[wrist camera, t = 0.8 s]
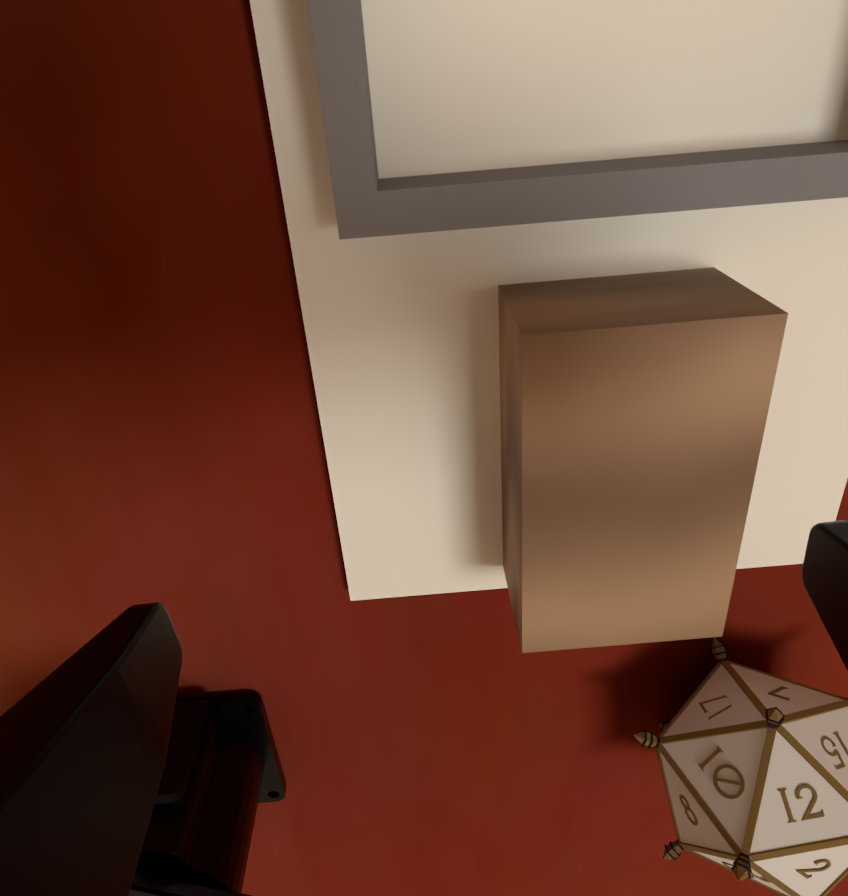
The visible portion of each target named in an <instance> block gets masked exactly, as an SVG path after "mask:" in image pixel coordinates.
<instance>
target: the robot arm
mask: <svg viewBox="0 0 848 896" xmlns="http://www.w3.org/2000/svg"><path fill="white" fill-rule="evenodd" d="M802 579H803V583H804V586H805V589H806V591H807V593H808V595H809V597H810V599H811V601H812V602H813V604H814V606H815V608H816V610H817V612H818V614H819V616H820V618H821V620H822V622H823V624H824V626H825V628H826V630H827V632H828V634H829V636H830V638H831V640H832V641H833V643H834V645H835V647H836V649H837V651H838V653H839V655H840V657H841V659H842V661H843V663H844V665H845V667H846V669H847V671H848V521H845V520H839V521H831V522H823V523H818V524H816V525H814V526H813V527H812V528H811V530H810V533H809V537H808V542H807V547H806V552H805V557H804V562H803V567H802ZM181 664H182V649H181V644H180V642H179V639H178V637H177V634H176V632H175V629H174V627H173V624H172V622H171V619H170V617H169V614H168V612H167V610H166V608H165V606H164V605H163V604H161V603H157V602H155V603H147V604H139V605H133V606H131V607H129V608H128V609H126V610H125V611H124V612H123V613H122V614H121V615H119V616H118V617H117V618H116V619H115V620H113V621H112V622H111V623H110V624H109V625H108V626H106V627H105V628H104V629H103V630H102V631H100V632H99V633H98V634H97V635H96V636H95V637H93V638H92V639H91V640H90V641H89V642H88V643H86V644H85V645H84V646H83V647H82V648H80V649H79V650H78V651H77V652H76V653H75V654H73V655H72V656H71V657H70V658H69V659H67V660H66V661H65V662H64V663H63V664H62V665H60V666H59V667H58V668H57V669H56V670H55V671H53V672H52V673H51V674H50V675H49V676H47V677H46V678H45V679H44V680H43V681H42V682H40V683H39V684H38V685H37V686H36V687H34V688H33V689H32V690H31V691H30V692H29V693H27V694H26V695H25V696H24V697H23V698H21V699H20V700H19V701H18V702H17V703H16V704H14V705H13V706H12V707H11V708H10V709H9V710H7V711H6V712H5V713H4V714H3V715H1V716H0V896H251V895H246V894H242V893H241V892H242V886H243V881H244V876H245V870H246V865H247V859H248V854H249V849H250V843H251V838H252V832H253V827H254V821H255V816H256V811H257V805H258V803H263V802H275V801H280V800H282V799H283V798H284V797H285V792H286V783H285V779H284V776H283V772H282V769H281V765H280V761H279V758H278V754H277V751H276V747H275V744H274V740H273V737H272V733H271V730H270V726H269V723H268V719H267V715H266V712H265V708H264V705H263V701H262V699H261V698H260V697H259V696H258V695H255V694H250V693H246V694H234V695H221V696H209V697H197V698H185V699H176V694H177V688H178V682H179V676H180V670H181Z"/></svg>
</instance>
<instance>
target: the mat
mask: <svg viewBox="0 0 848 896" xmlns="http://www.w3.org/2000/svg"><path fill="white" fill-rule="evenodd" d="M250 6H251V12H252V18H253V24H254V30H255V36H256V42H257V48H258V54H259V60H260V66H261V72H262V78H263V84H264V90H265V95H266V101H267V107H268V113H269V119H270V125H271V131H272V137H273V143H274V149H275V155H276V161H277V167H278V173H279V179H280V185H281V191H282V197H283V202H284V208H285V214H286V220H287V226H288V232H289V238H290V244H291V250H292V256H293V262H294V268H295V274H296V280H297V286H298V292H299V298H300V304H301V310H302V315H303V321H304V327H305V333H306V339H307V345H308V351H309V357H310V363H311V369H312V375H313V381H314V387H315V393H316V399H317V405H318V411H319V417H320V422H321V428H322V434H323V440H324V446H325V452H326V458H327V464H328V470H329V476H330V482H331V488H332V494H333V500H334V506H335V512H336V518H337V524H338V529H339V535H340V541H341V547H342V553H343V559H344V565H345V571H346V577H347V583H348V589H349V595H350V601H354V600H366V599H378V598H390V597H403V596H415V595H427V594H439V593H451V592H463V591H475V590H487V589H500V588H508V587H507V582H506V577H505V573H504V568H503V534H502V478H501V422H500V366H499V309H498V285H507V284H519V283H532V282H544V281H556V280H568V279H580V278H592V277H604V276H616V275H628V274H640V273H652V272H664V271H676V270H688V269H700V268H712V267H714V268H716V269H718V270H719V271H721V272H722V273H724V274H726V275H727V276H729V277H731V278H732V279H734V280H735V281H737V282H739V283H740V284H742V285H744V286H745V287H747V288H748V289H750V290H752V291H753V292H755V293H756V294H758V295H760V296H761V297H763V298H765V299H766V300H768V301H769V302H771V303H773V304H774V305H776V306H777V307H779V308H781V309H782V310H784V311H786V312H787V313H788V317H787V322H786V327H785V332H784V337H783V342H782V347H781V351H780V356H779V361H778V366H777V371H776V376H775V381H774V386H773V391H772V396H771V400H770V405H769V410H768V415H767V420H766V425H765V430H764V435H763V440H762V445H761V449H760V454H759V459H758V464H757V469H756V474H755V479H754V484H753V489H752V494H751V498H750V503H749V508H748V513H747V518H746V523H745V528H744V533H743V538H742V543H741V547H740V552H739V557H738V562H737V567H736V569H742V568H754V567H766V566H779V565H791V564H803V562H804V557H805V552H806V547H807V542H808V537H809V533H810V530H811V528H812V527H813V526H814V525H816V524H818V523H823V522H831V521H835V520H836V517H837V513H838V510H839V506H840V503H841V499H842V496H843V492H844V489H845V485H846V482H847V478H848V0H250Z"/></svg>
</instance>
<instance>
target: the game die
mask: <svg viewBox="0 0 848 896" xmlns="http://www.w3.org/2000/svg"><path fill="white" fill-rule="evenodd" d="M724 647H725V645H722V644H721V643H720V642H719V641H718V640H717V639H716V638H715V637H714V640H713V644H712V648H710V650H712V651H713V656H715V657H716V658H717V660H718V663H717V664H716V665H715V667H714V668H713V669H712V670H711V672H710V673H709V674H708V675H707V676H706V678H705V679H704V680H703V681H702V683H701V684H700V685H699V686H698V688H697V689H696V690H695V691H694V692H693V694H692V695H691V696H690V697H689V699H688V700H687V701H686V702H685V704H684V705H683V706H682V707H681V708H680V710H679V711H678V712H677V713H676V715H675V716H674V717H673V718H672V720H671V721H670V722H669V721H666V722H662V724H659V726H660V728H661V733H660V734H659V736H658V737H656V736H654V735H653V733H647V731H642V732H641V733H637V734H633V735H634V736H635V737H636V739H637V740H638V741H639V742H640V743H641V745H642V747H643V746H644V745H645V746H647V747H648V748H650V747H656V750H657V754H658V759H659V763H660V767H661V771H662V776H663V780H664V784H665V788H666V792H667V797H668V801H669V805H670V809H671V814H672V818H673V822H674V826H675V831H676V835H677V840H676V841H675V842H671V841H670V842H669V843H670V844H669V845H667V846H666V845H665V852H664V856H663V860H664V859H673V860H674V861H675V860H676V858H677V856H680V855H681V851H682V849H686V850H688V851H690V852H692V853H694V854H696V855H698V856H700V857H703V858H705V859H707V860H709V861H711V862H713V863H715V864H717V865H719V866H722V867H724V868H726V869H728V870H730V871H732V872H734V873H735V875H736V877H737V878H738V880H739V881H741V880H743V879H749V880H751V881H753V882H755V883H757V884H759V885H762V886H764V887H766V888H768V889H770V890H772V891H774V892H776V893H778V894H781V895H783V896H826V895H827V894H828V893H829V892H830V891H831V890H832V889H833V888H834V887H835V886H836V885H837V884H838V883H839V882H840V881H841V880H842V879H843V878H844V877H845V876H846V875H847V874H848V698H844V697H841V696H837V695H834V694H831V693H828V692H825V691H822V690H819V689H816V688H812V687H809V686H806V685H803V684H800V683H797V682H794V681H790V680H787V679H784V678H781V677H778V676H775V675H772V674H768V673H765V672H762V671H759V670H756V669H753V668H750V667H747V666H743V665H740V664H737V663H734V662H731V661H728V660H727V659H726V653H727V652H726V651H725V649H724Z"/></svg>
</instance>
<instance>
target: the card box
mask: <svg viewBox="0 0 848 896" xmlns="http://www.w3.org/2000/svg"><path fill="white" fill-rule="evenodd" d="M498 309H499V366H500V422H501V478H502V534H503V568H504V573H505V577H506V582H507V587H508V591H509V596H510V600H511V605H512V609H513V614H514V618H515V623H516V627H517V632H518V636H519V641H520V646H521V650H522V653H528V652H540V651H553V650H565V649H577V648H589V647H601V646H613V645H626V644H638V643H650V642H662V641H674V640H686V639H698V638H711V637H722V636H723V631H724V626H725V621H726V616H727V611H728V606H729V601H730V596H731V592H732V587H733V582H734V577H735V572H736V567H737V562H738V557H739V552H740V547H741V543H742V538H743V533H744V528H745V523H746V518H747V513H748V508H749V503H750V498H751V494H752V489H753V484H754V479H755V474H756V469H757V464H758V459H759V454H760V449H761V445H762V440H763V435H764V430H765V425H766V420H767V415H768V410H769V405H770V400H771V396H772V391H773V386H774V381H775V376H776V371H777V366H778V361H779V356H780V351H781V347H782V342H783V337H784V332H785V327H786V322H787V317H788V313H787V312H786V311H784V310H782V309H781V308H779V307H777V306H776V305H774V304H773V303H771V302H769V301H768V300H766V299H765V298H763V297H761V296H760V295H758V294H756V293H755V292H753V291H752V290H750V289H748V288H747V287H745V286H744V285H742V284H740V283H739V282H737V281H735V280H734V279H732V278H731V277H729V276H727V275H726V274H724V273H722V272H721V271H719V270H718V269H716V268H714V267H712V268H700V269H688V270H676V271H664V272H652V273H640V274H628V275H616V276H604V277H592V278H580V279H568V280H556V281H544V282H532V283H519V284H507V285H498Z"/></svg>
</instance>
